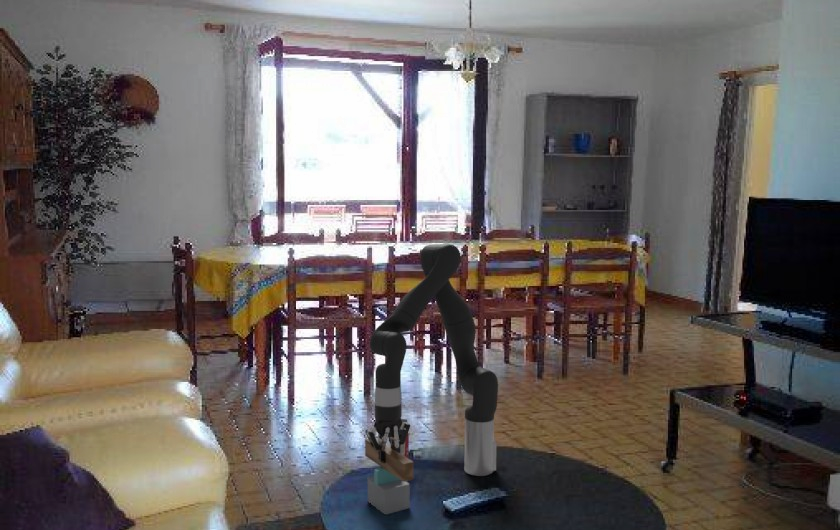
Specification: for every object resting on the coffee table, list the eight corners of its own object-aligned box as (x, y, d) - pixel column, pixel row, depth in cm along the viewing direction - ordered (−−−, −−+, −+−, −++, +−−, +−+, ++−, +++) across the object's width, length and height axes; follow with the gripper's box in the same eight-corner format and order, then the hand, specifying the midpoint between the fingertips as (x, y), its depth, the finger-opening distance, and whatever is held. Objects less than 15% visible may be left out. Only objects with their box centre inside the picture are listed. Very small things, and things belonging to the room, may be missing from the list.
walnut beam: (374, 453, 213) (374, 437, 213) (413, 479, 195) (413, 461, 194) (365, 455, 212) (365, 439, 211) (403, 481, 193) (403, 464, 192)
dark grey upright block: (402, 477, 223) (402, 430, 222) (388, 476, 224) (388, 429, 223) (409, 463, 234) (409, 419, 233) (396, 462, 235) (396, 418, 233)
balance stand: (391, 495, 211) (391, 458, 209) (409, 507, 202) (409, 470, 201) (367, 501, 206) (367, 464, 205) (384, 514, 198) (384, 476, 197)
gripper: (402, 394, 208) (402, 452, 210) (359, 402, 200) (359, 461, 202) (416, 401, 202) (416, 460, 203) (372, 409, 194) (372, 470, 196)
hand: (388, 460), depth 203 cm, fingers closed on walnut beam, 3 cm apart
